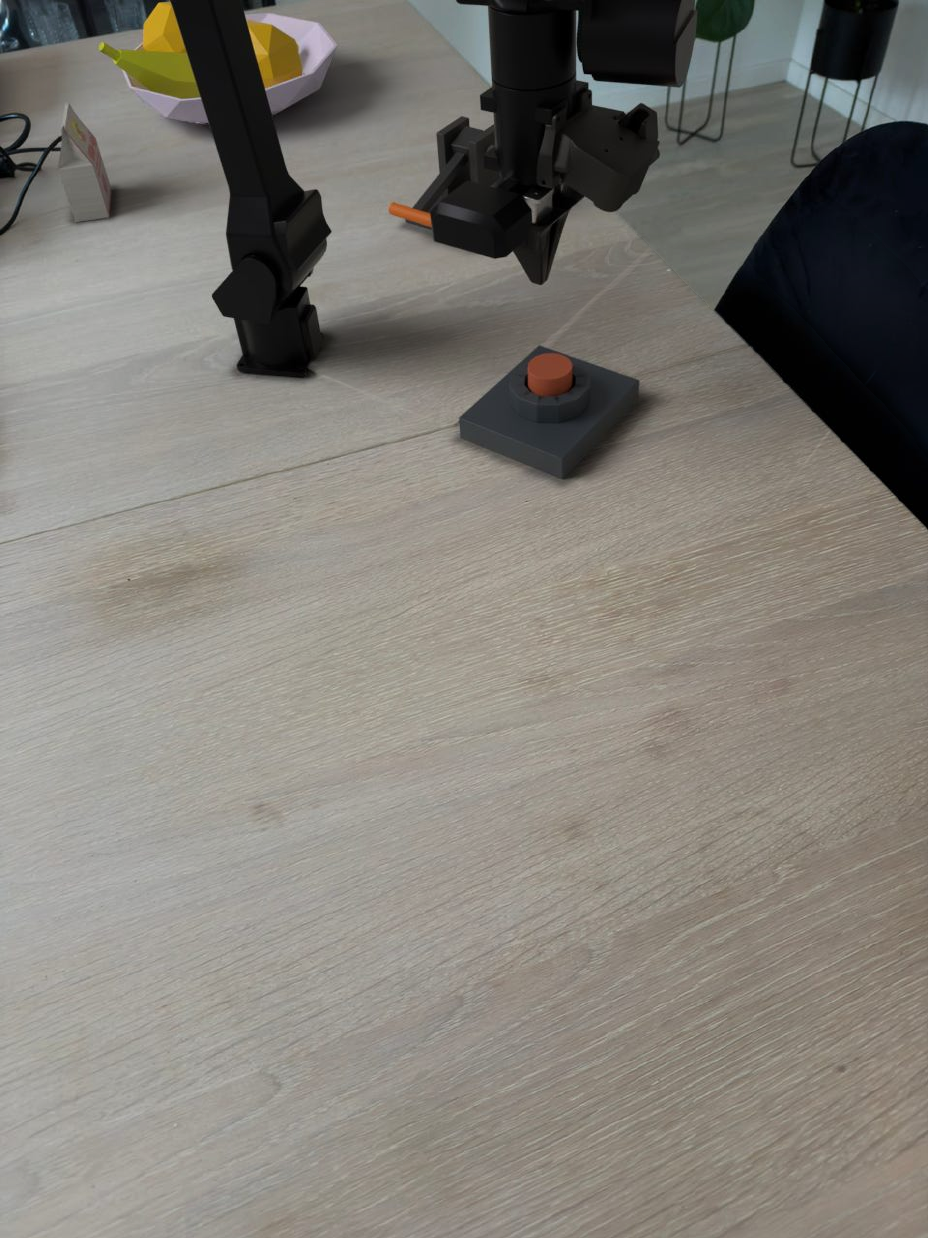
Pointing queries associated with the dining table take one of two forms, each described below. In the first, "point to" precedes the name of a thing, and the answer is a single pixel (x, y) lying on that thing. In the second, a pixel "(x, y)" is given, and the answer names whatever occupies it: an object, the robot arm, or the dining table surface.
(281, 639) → the dining table surface
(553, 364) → the button
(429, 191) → the switch lever
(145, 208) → the dining table surface
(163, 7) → the fruit bowl
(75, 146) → the small milk carton
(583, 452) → the socket block
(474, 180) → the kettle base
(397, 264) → the dining table surface
